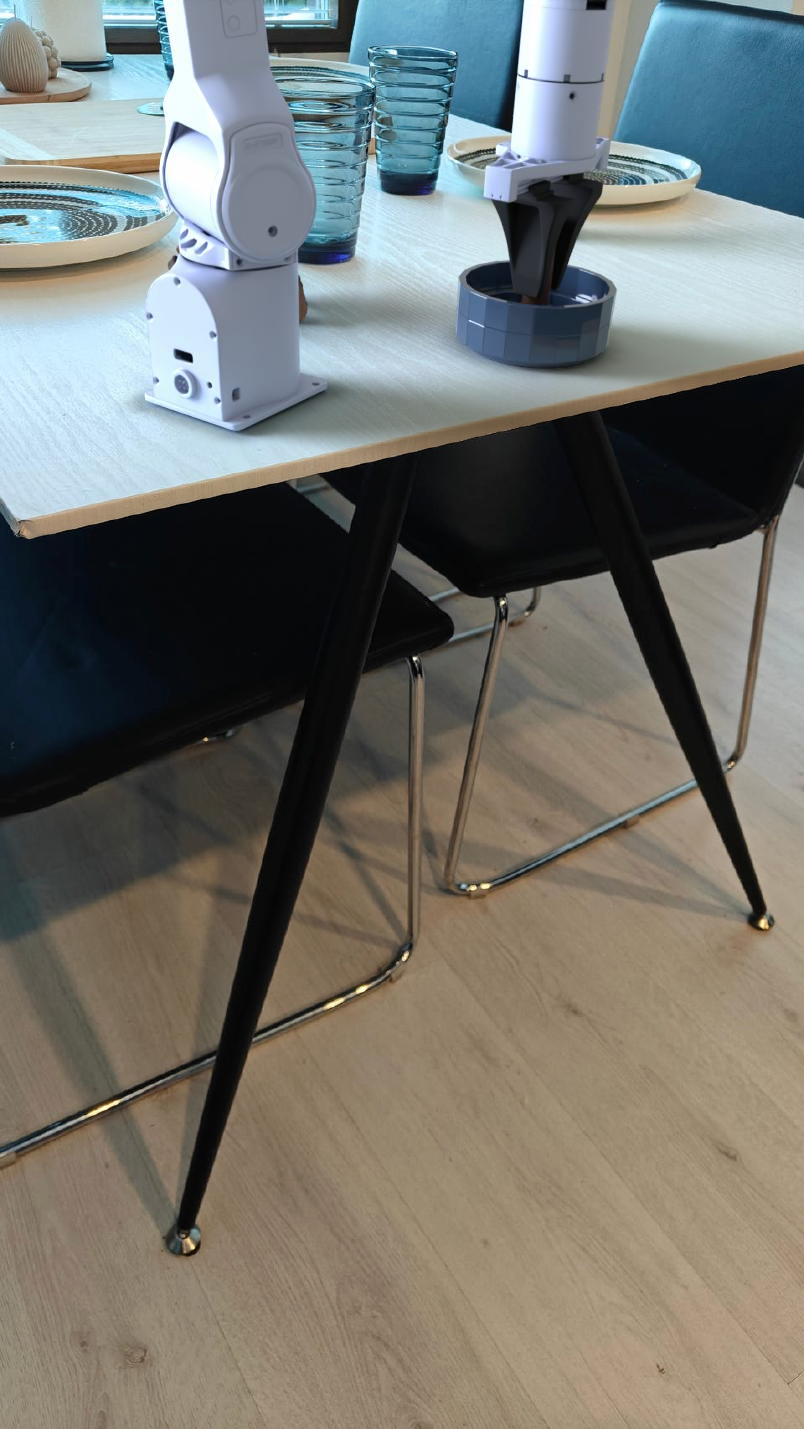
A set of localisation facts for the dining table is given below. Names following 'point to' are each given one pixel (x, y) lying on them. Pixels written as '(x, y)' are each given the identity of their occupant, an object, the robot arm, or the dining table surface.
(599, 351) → the bowl
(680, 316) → the dining table surface
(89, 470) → the dining table surface
